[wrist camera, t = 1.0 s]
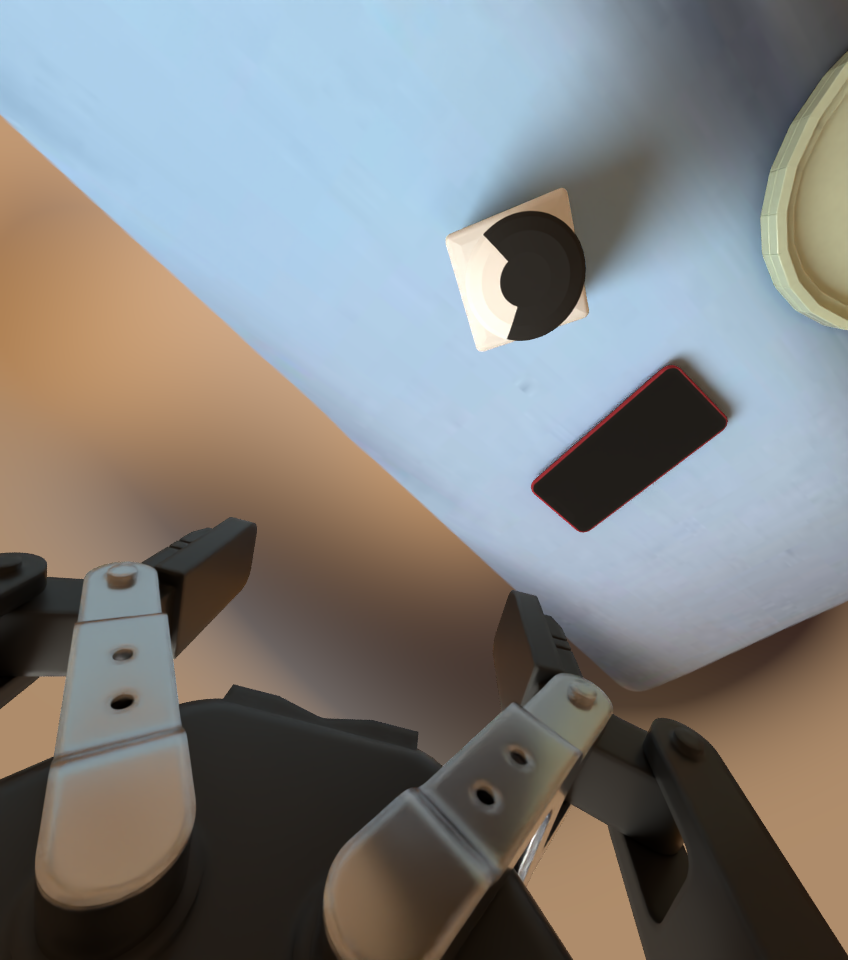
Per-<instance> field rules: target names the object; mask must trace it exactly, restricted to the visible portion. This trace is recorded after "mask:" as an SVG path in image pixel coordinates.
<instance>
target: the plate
mask: <svg viewBox="0 0 848 960" xmlns="http://www.w3.org/2000/svg"><path fill="white" fill-rule="evenodd" d="M760 220H761V241H762V255H763V257H764V260H765V263H766V265H767V268H768V271H769V273H770V276H771V279H772V281H773V284H774V286H775V288H776V289H777V290H778V291H779V292H780V293H781V295H782V296H783V297H784V298H785V299H786V300H787V301H788V303H789V304H790V305H791V306H792V307H793V308H794V309H795V310H796V311H797V312H799V313H801V314H803V315H805V316H807V317H809V318H810V319H812V320H814V321H816V322H818V323H820V324H822V325H825V326H829V327H834V328H839V329H844V330H848V51H847V52H846V53H845V54H844V55H843V56H842V57H841V58H840V59H839V60H838V61H837V62H836V64H835V65H834V66H833V67H832V68H831V69H830V70H829V71H828V72H827V73H826V74H825V76H823V78H822V79H821V81H820V82H819V84H818V85H817V86H816V88H815V89H814V91H813V92H812V94H811V95H810V97H809V98H808V100H807V101H806V103H805V104H804V106H803V107H802V109H801V110H800V111H799V113H798V114H797V116H796V117H795V119H794V120H793V122H792V124H791V125H790V127H789V129H788V132H787V134H786V136H785V138H784V141H783V143H782V145H781V147H780V150H779V152H778V154H777V156H776V159H775V161H774V163H773V165H772V168H771V170H770V174H769V178H768V183H767V188H766V193H765V197H764V202H763V207H762V212H761V217H760Z"/></svg>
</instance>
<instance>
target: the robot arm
mask: <svg viewBox="0 0 848 960" xmlns="http://www.w3.org/2000/svg"><path fill="white" fill-rule="evenodd" d="M256 533H257V526H256V524H255V523H252V522H249V521H245V520H241V519H237V518H233V517H230V518H228V519H226V520H225V521H223V522H222V523H220V524H219V525H217V526H216V527H214V528H213V529H212V528H205V529H201V530H198V531H194V532H191V533H189V534H187V535H186V536H184V537H183V538H181V539H180V540H179V541H176V542H174V543H173V544H171V545H170V546H169V547H167V548H165V549H163V550H161V551H160V552H158V553H156V554H155V555H153V556H152V557H150V558H148V559H147V560H145V561H143V562H142V563H137V562H115V563H110V564H105V565H102V566H99V567H97V568H94V569H93V570H91V571H89V572H88V573H87V574H86V576H85V578H84V579H72V578H56V577H47V562H46V561H45V560H44V559H43V558H42V557H40V556H37V555H34V554H28V553H0V709H1V708H2V707H3V706H5V705H6V704H7V703H8V702H10V701H11V700H12V699H13V698H14V697H16V696H17V695H18V694H20V693H21V692H22V691H23V690H24V689H26V688H27V687H28V686H29V685H31V684H32V683H33V682H34V681H35V680H37V679H38V678H39V677H40V676H66V682H65V688H64V695H63V701H62V707H61V714H60V720H59V727H58V734H57V740H56V746H55V753H54V757H51V758H49V759H47V760H44V761H42V762H40V763H37V764H35V765H33V766H30V767H28V768H26V769H24V770H21V771H19V772H16V773H14V774H12V775H10V776H7V777H5V778H2V779H0V960H573V959H572V957H571V956H570V954H569V953H568V951H567V950H566V948H565V947H564V945H563V943H562V942H561V940H560V939H559V937H558V936H557V934H556V933H555V931H554V929H553V928H552V926H551V925H550V923H549V922H548V920H547V919H546V917H545V916H544V914H543V913H542V911H541V909H540V908H539V907H538V905H537V903H536V902H535V900H534V899H533V897H532V896H531V894H530V892H529V891H528V890H527V888H526V886H527V884H528V882H529V880H530V878H531V876H532V874H533V872H534V870H535V869H536V867H537V865H538V863H539V861H540V860H541V858H542V856H543V854H544V853H545V851H546V850H547V848H548V846H549V844H550V843H551V841H552V839H553V838H554V836H555V834H556V832H557V831H558V829H559V827H560V826H561V824H562V822H563V821H564V819H565V817H566V816H567V814H568V812H569V810H570V809H571V806H572V805H574V806H575V807H577V808H579V809H581V810H582V811H584V812H586V813H588V814H590V815H591V816H593V817H595V818H597V819H598V820H600V821H602V822H604V823H605V824H607V825H608V828H609V832H610V836H611V840H612V843H613V846H614V850H615V853H616V857H617V860H618V864H619V867H620V871H621V874H622V878H623V881H624V884H625V888H626V891H627V895H628V898H629V902H630V905H631V909H632V912H633V916H634V919H635V922H636V926H637V929H638V933H639V936H640V940H641V943H642V946H643V950H644V954H645V957H646V960H848V955H847V954H846V952H845V950H844V949H843V947H842V946H841V944H840V943H839V941H838V940H837V938H836V936H835V935H834V933H833V932H832V930H831V929H830V927H829V925H828V924H827V922H826V921H825V919H824V918H823V916H822V915H821V913H820V911H819V910H818V908H817V907H816V905H815V904H814V902H813V901H812V899H811V898H810V896H809V894H808V893H807V891H806V890H805V888H804V887H803V885H802V883H801V882H800V880H799V879H798V877H797V876H796V874H795V872H794V871H793V869H792V868H791V866H790V865H789V863H788V861H787V860H786V858H785V857H784V855H783V854H782V852H781V851H780V849H779V847H778V846H777V844H776V843H775V841H774V840H773V838H772V837H771V835H770V833H769V832H768V831H767V829H766V827H765V826H764V824H763V823H762V821H761V819H760V818H759V816H758V815H757V813H756V812H755V810H754V808H753V807H752V805H751V804H750V802H749V801H748V799H747V798H746V796H745V794H744V793H743V791H742V790H741V788H740V787H739V785H738V784H737V782H736V780H735V779H734V777H733V776H732V774H731V773H730V771H729V769H728V768H727V766H726V765H725V763H724V762H723V760H722V759H721V757H720V755H719V754H718V753H717V751H716V750H715V749H714V748H713V746H712V745H711V744H710V743H709V742H708V741H707V740H706V739H704V738H703V737H702V736H701V735H700V734H698V733H697V732H695V731H694V730H692V729H691V728H689V727H687V726H686V725H683V724H681V723H679V722H677V721H674V720H671V719H666V718H658V719H655V720H654V721H653V723H652V725H651V727H650V729H649V731H648V732H647V731H645V730H643V729H641V728H639V727H637V726H635V725H633V724H631V723H629V722H627V721H624V720H622V719H621V718H618V717H617V716H615V715H614V714H612V713H613V707H612V704H611V701H610V700H609V698H608V697H607V695H606V694H605V693H604V692H603V691H602V690H601V689H600V688H599V687H597V686H596V685H594V684H593V683H592V682H590V681H588V680H586V679H585V678H583V676H582V674H581V671H580V669H579V667H578V664H577V662H576V660H575V658H574V655H573V653H572V652H571V648H570V646H569V643H568V642H567V639H566V636H565V634H564V632H563V629H562V628H561V627H560V625H559V624H558V623H557V622H556V621H555V620H554V619H553V618H552V617H551V616H548V615H544V614H543V611H542V608H541V606H540V603H539V600H538V598H537V596H534V595H530V594H527V593H523V592H519V591H515V590H512V591H511V592H510V594H509V596H508V599H507V602H506V605H505V608H504V611H503V614H502V617H501V620H500V623H499V626H498V629H497V632H496V635H495V639H494V645H493V657H494V665H495V671H496V678H497V685H498V692H499V698H500V705H501V713H500V714H499V715H498V716H497V717H496V718H495V719H494V720H493V721H492V722H491V723H489V724H488V725H487V726H486V727H485V728H484V729H483V730H482V731H481V732H480V733H479V734H478V735H477V736H475V737H474V738H473V739H472V740H471V741H470V742H469V743H468V744H467V745H466V746H465V747H464V748H462V749H461V750H460V751H459V752H458V753H457V754H456V755H455V756H454V757H453V758H452V759H451V760H449V762H447V763H446V764H445V765H444V766H442V765H441V764H440V763H438V762H437V761H436V760H435V759H434V758H432V757H431V756H429V755H428V754H426V753H424V752H423V751H421V750H419V749H417V741H418V732H417V731H412V730H409V729H405V728H401V727H397V726H393V725H389V724H386V723H382V722H378V721H374V720H353V719H352V720H351V719H327V718H321V717H319V716H316V715H315V714H313V713H311V712H309V711H307V710H305V709H303V708H301V707H299V706H297V705H295V704H293V703H291V702H289V701H287V700H286V699H284V698H281V697H280V696H277V695H273V694H269V693H265V692H261V691H257V690H253V689H249V688H245V687H241V686H238V685H233V686H232V687H231V688H230V690H229V691H228V693H227V694H226V696H225V697H224V698H223V699H204V700H196V701H191V702H186V703H182V704H179V703H178V696H177V688H176V680H175V671H174V664H173V659H175V658H176V657H177V656H178V655H179V654H180V653H181V652H182V651H183V650H184V649H185V648H186V647H187V646H188V645H189V644H190V643H191V642H192V641H193V640H194V639H195V638H196V637H197V635H198V634H199V633H200V632H201V631H202V630H203V629H204V628H205V627H206V626H207V625H208V624H209V623H210V622H211V621H212V620H213V619H214V618H215V617H216V616H217V615H218V614H219V613H220V612H221V611H222V610H223V609H224V608H225V606H226V605H227V604H228V603H229V602H230V601H231V600H232V599H233V598H234V597H235V596H236V595H237V594H238V593H239V592H240V591H241V590H242V589H243V587H244V586H245V584H246V582H247V580H248V577H249V575H250V571H251V565H252V558H253V552H254V546H255V539H256ZM683 843H685V846H686V849H687V852H686V850H685V848H684V846H683ZM687 854H688V855H687Z"/></svg>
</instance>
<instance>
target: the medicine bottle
mask: <svg viewBox="0 0 848 960" xmlns="http://www.w3.org/2000/svg"><path fill="white" fill-rule="evenodd" d="M446 246H447V249H448V253H449V256H450V259H451V263H452V266H453V270H454V273H455V276H456V280H457V283H458V287H459V290H460V293H461V297H462V300H463V304H464V307H465V311H466V314H467V317H468V321H469V324H470V328H471V331H472V334H473V338H474V341H475V345H476V348H477V349H478V351H480V352H483V351H486V350H489V349H492V348H495V347H498V346H501V345H504V344H507V343H510V342H513V341H524V340H531V339H535V338H538V337H541V336H543V335H546V334H547V333H549V332H551V331H553V330H554V329H555V328H557V327H558V326H561V325H564V324H567V323H570V322H573V321H576V320H579V319H582V318H584V317H586V316H587V315H588V313H589V308H588V302H587V297H586V291H585V286H584V282H585V273H586V265H585V257H584V252H583V249H582V246H581V244H580V241H579V240H578V238H577V236H576V234H575V231H574V225H573V220H572V214H571V209H570V203H569V198H568V193H567V191H566V189H564V188H559V189H557V190H554V191H552V192H549V193H547V194H545V195H542V196H540V197H537V198H535V199H533V200H530V201H528V202H525V203H523V204H521V205H518V206H516V207H513V208H511V209H509V210H506V211H504V212H501V213H499V214H497V215H494V216H492V217H489V218H487V219H485V220H482V221H480V222H477V223H475V224H473V225H470V226H468V227H465V228H463V229H461V230H458V231H456V232H453V233H451V234H449V235H448V236H447V237H446Z"/></svg>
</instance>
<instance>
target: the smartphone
mask: <svg viewBox="0 0 848 960" xmlns="http://www.w3.org/2000/svg"><path fill="white" fill-rule="evenodd" d="M727 422H728V420H727V417H726V416H725V414H724V413H723V412H722V411H721V410H720V409H719V408H718V407H717V406H716V405H715V404H714V403H713V402H712V401H711V400H710V399H709V398H708V397H707V396H706V395H705V394H704V393H703V391H702V390H701V389H700V388H699V387H698V386H697V385H696V384H695V383H694V382H693V381H692V380H691V379H690V378H689V377H688V376H687V375H686V374H685V373H684V372H683V371H682V370H681V369H680V368H679V367H677V366H675V365H668V366H665V367H664V368H662V369H661V370H660V371H659V372H657V373H656V374H655V375H654V376H653V377H652V378H651V379H649V380H648V381H647V382H646V383H645V384H644V385H643V386H641V387H640V388H639V389H638V390H637V391H636V392H635V393H633V394H632V395H631V396H630V397H629V398H628V399H627V400H625V401H624V402H623V403H622V404H621V405H620V406H619V407H617V408H616V409H615V410H614V411H613V412H612V413H611V414H609V415H608V416H607V417H606V418H605V419H604V420H602V421H601V422H600V423H599V424H598V425H597V426H596V427H594V428H593V429H592V430H591V431H590V432H589V433H588V434H586V435H585V436H584V437H583V438H582V439H581V440H580V441H578V442H577V443H576V444H575V445H574V446H573V447H572V448H570V449H569V450H568V451H567V452H566V453H565V454H564V455H562V456H561V457H560V458H559V459H558V460H557V461H556V462H554V463H553V464H552V465H551V466H550V467H549V468H548V469H546V470H545V471H544V472H543V473H542V474H541V475H540V476H538V477H537V478H536V479H535V480H534V481H533V482H532V484H531V489H532V492H533V493H534V494H535V495H536V496H537V497H538V498H539V499H541V500H542V501H543V502H544V503H545V504H546V505H548V506H549V507H550V508H551V509H552V510H554V511H555V512H556V513H557V514H558V515H559V516H561V517H562V518H563V519H564V520H565V521H566V522H568V523H569V524H570V525H571V526H572V527H573V528H575V529H576V530H577V531H579V532H588V531H590V530H591V529H593V528H594V527H595V526H597V525H598V524H599V523H601V522H602V521H603V520H605V519H606V518H607V517H609V516H610V515H611V514H613V513H614V512H615V511H617V510H618V509H619V508H621V507H622V506H623V505H624V504H626V503H627V502H628V501H630V500H631V499H632V498H634V497H635V496H636V495H638V494H639V493H640V492H642V491H643V490H644V489H646V488H647V487H648V486H650V485H651V484H652V483H654V482H655V481H656V480H658V479H659V478H660V477H662V476H663V475H664V474H666V473H667V472H668V471H670V470H671V469H672V468H674V467H675V466H676V465H678V464H679V463H680V462H682V461H683V460H684V459H686V458H687V457H688V456H690V455H691V454H692V453H694V452H695V451H696V450H698V449H699V448H700V447H702V446H703V445H704V444H706V443H707V442H708V441H710V440H711V439H712V438H713V437H715V436H716V435H717V434H719V433H720V432H721V431H723V430H724V429H725V427H726V426H727Z"/></svg>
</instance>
